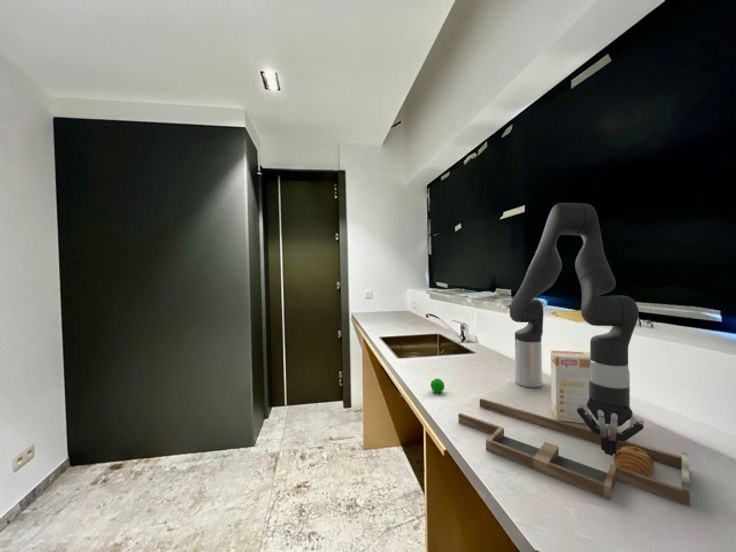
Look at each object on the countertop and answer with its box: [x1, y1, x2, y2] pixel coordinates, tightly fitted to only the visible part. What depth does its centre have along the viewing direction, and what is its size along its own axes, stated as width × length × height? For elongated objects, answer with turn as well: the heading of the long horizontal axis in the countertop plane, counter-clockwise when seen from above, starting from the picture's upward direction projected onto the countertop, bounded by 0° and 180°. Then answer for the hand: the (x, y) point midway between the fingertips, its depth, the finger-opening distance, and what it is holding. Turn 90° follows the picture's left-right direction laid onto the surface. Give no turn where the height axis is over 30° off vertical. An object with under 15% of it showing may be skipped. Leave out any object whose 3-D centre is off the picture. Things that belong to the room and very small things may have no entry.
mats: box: [498, 435, 608, 483], centre depth 73 cm, size 8×23×1 cm, turn 45°
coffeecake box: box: [550, 350, 610, 427], centre depth 93 cm, size 15×7×20 cm, turn 71°
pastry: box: [613, 446, 655, 477], centre depth 70 cm, size 9×7×4 cm
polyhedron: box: [430, 377, 445, 394], centre depth 116 cm, size 5×5×5 cm
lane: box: [457, 398, 691, 507], centre depth 78 cm, size 23×48×4 cm, turn 45°
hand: (608, 453), depth 73 cm, fingers closed
